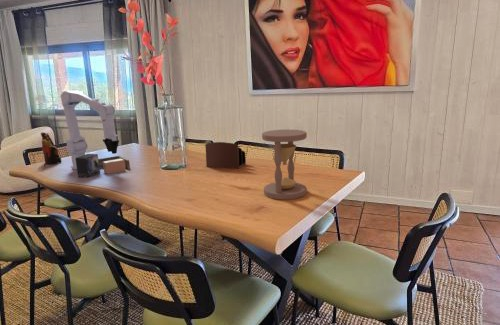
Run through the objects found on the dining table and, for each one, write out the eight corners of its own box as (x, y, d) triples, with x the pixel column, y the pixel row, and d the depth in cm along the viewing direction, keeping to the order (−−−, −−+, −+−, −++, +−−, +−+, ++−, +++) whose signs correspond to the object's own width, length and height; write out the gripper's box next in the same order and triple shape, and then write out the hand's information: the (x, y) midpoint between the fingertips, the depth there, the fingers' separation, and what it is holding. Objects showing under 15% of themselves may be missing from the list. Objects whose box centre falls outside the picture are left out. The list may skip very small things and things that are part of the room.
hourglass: (290, 203, 129) (289, 137, 123) (255, 194, 140) (252, 134, 134) (314, 190, 142) (314, 130, 136) (280, 183, 153) (279, 128, 147)
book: (104, 172, 187) (102, 161, 186) (122, 168, 193) (121, 158, 192) (106, 174, 183) (105, 163, 182) (125, 170, 189) (124, 159, 188)
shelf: (95, 168, 197) (94, 159, 196) (120, 163, 205) (119, 155, 204) (103, 173, 184) (102, 164, 183) (130, 168, 192) (129, 160, 191)
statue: (62, 162, 215) (57, 131, 210) (49, 165, 209) (43, 133, 205) (55, 160, 223) (49, 130, 218) (42, 162, 217) (36, 131, 212)
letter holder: (239, 169, 182) (237, 143, 179) (206, 167, 189) (204, 142, 186) (246, 164, 191) (244, 139, 188) (214, 162, 198) (212, 138, 195)
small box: (88, 177, 177) (85, 158, 175) (77, 177, 179) (74, 157, 176) (101, 172, 187) (98, 153, 185) (90, 172, 189) (87, 153, 186)
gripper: (120, 127, 179) (124, 153, 183) (112, 125, 191) (115, 149, 194) (106, 129, 175) (110, 155, 178) (99, 127, 187) (102, 151, 190)
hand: (112, 152), depth 186 cm, fingers open, 7 cm apart
